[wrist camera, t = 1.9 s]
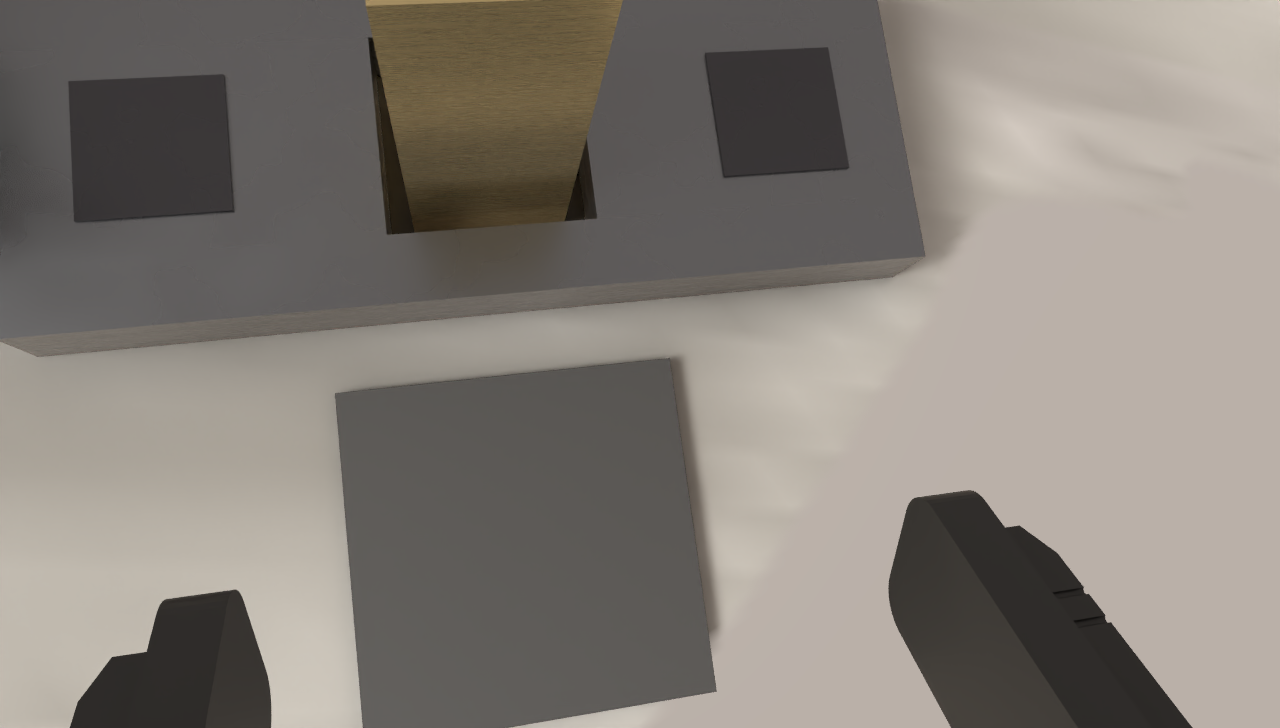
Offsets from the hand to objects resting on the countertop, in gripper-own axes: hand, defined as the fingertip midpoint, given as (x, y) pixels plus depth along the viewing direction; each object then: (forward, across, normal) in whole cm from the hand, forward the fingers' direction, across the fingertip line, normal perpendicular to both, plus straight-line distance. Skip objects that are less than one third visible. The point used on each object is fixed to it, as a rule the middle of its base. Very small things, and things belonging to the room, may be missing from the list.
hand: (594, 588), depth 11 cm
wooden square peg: (+21, 0, +3) cm, 21 cm away
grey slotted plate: (+21, 0, +3) cm, 21 cm away
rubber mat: (+12, 0, +12) cm, 17 cm away
